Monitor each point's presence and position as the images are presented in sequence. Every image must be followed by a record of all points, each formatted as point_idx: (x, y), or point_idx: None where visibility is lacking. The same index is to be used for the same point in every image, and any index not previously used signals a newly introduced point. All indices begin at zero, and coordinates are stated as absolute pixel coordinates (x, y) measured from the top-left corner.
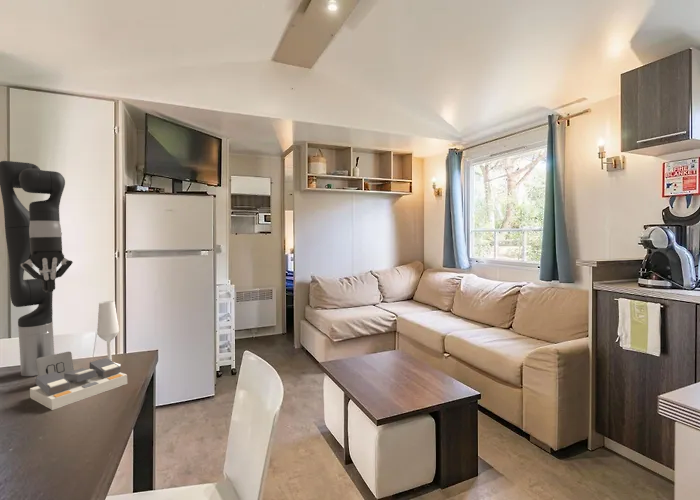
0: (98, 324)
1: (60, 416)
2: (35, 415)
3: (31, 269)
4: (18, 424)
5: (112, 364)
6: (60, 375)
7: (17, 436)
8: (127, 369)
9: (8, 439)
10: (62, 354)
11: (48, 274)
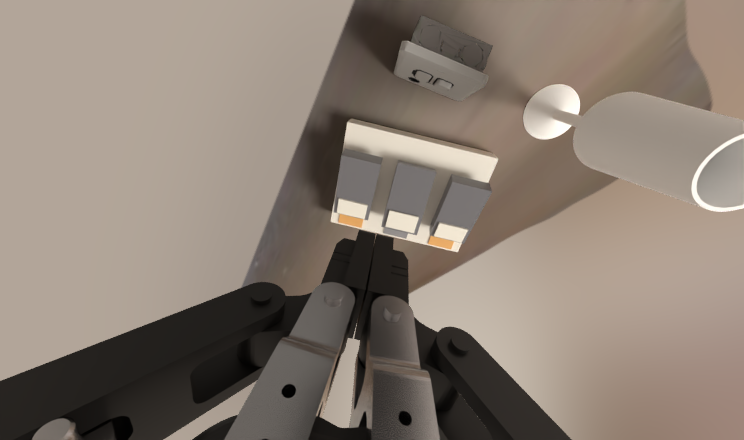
0: (607, 130)
1: (327, 243)
2: (313, 205)
3: (137, 434)
4: (288, 210)
5: (462, 229)
6: (374, 186)
7: (272, 242)
8: (534, 176)
9: (263, 239)
10: (462, 77)
11: (370, 347)
